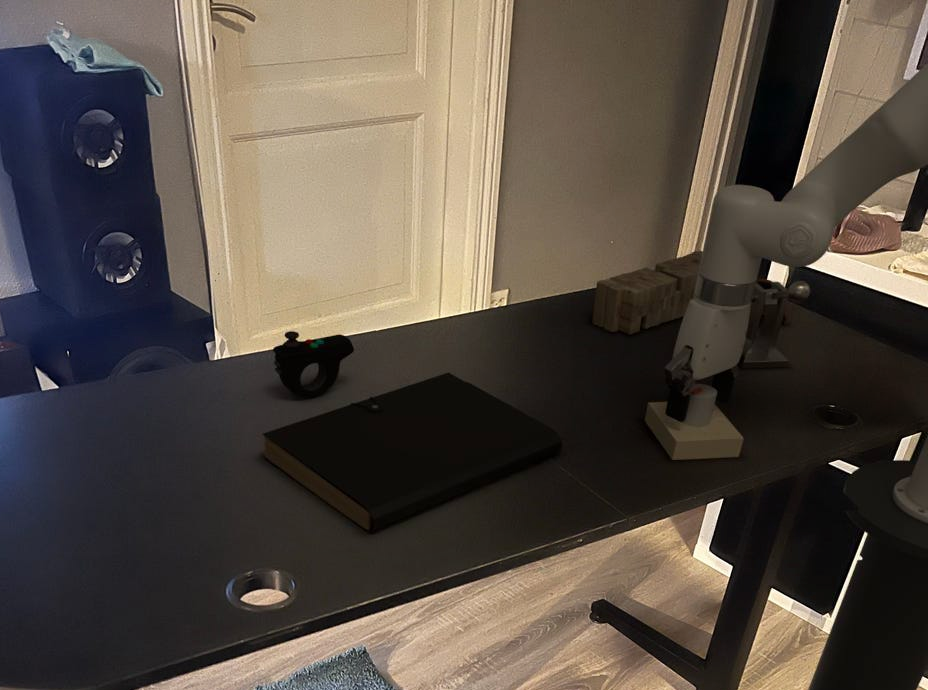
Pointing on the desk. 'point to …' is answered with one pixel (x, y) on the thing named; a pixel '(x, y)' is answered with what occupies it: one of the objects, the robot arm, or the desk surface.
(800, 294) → the tap lever
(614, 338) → the desk surface
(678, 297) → the block tower
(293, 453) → the black hardcover book
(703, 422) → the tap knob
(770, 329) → the bracket
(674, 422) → the beige rectangular block
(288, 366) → the controller
